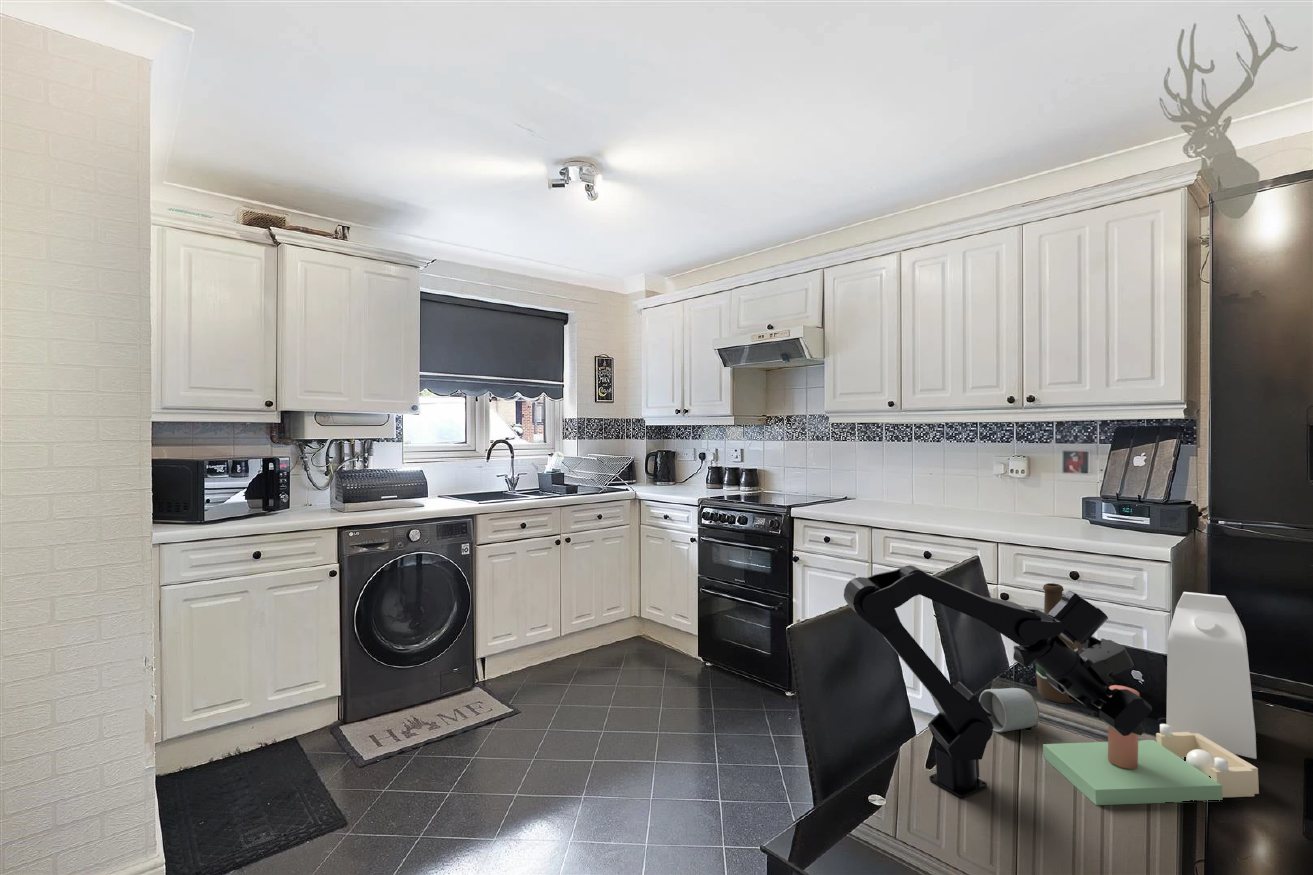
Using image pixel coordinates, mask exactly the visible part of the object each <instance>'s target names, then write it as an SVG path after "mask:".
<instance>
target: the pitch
mask: <svg viewBox="0 0 1313 875" xmlns="http://www.w3.org/2000/svg"><path fill="white" fill-rule="evenodd" d="M1042 747H1043V748H1042V750H1043V759H1044V760H1045V761H1047V762H1048V763H1049V764H1050V765H1051V766H1052V767H1054V768H1055V769H1056V770H1057V771H1058V772H1059V774H1061V775H1062V776H1064V778H1066V779H1067V780H1068V781H1069V782H1070V783H1071V784H1072V785H1073V786H1074V787H1075V788H1076V789H1078V790H1079V792H1081V793H1082V794H1083V795H1084V796H1085V797H1086V798H1087V799H1089V800H1090V801H1091V802H1092V803H1093V804H1094V805H1095V806H1109V805H1111V806H1112V805H1136V804H1137V805H1139V804H1142V805H1143V804H1144V805H1145V804H1166V803H1165V802H1174V803H1183V802H1182V801H1190V800H1193V801H1194V800H1219V801H1218V802H1221V801H1220V800H1223V798H1224V797H1222V785H1221V784H1219V783H1218V782H1216V781H1214V780H1213V779H1211V778H1210V777H1209V776H1207V775H1206V774H1204V773H1203V772H1201V771H1200V770H1198V769H1197V768H1195V767H1193V766H1192V765H1190V764H1189V763H1187V762H1186V761H1184V760H1183V759H1181V758H1180V757H1178V756H1177V755H1175V754H1174V753H1172V752H1171V751H1169V750H1168V749H1166V748H1165V747H1163V746H1162V745H1160V744H1159V743H1157V741H1156V740H1154V739H1145V740H1138V767H1137V768H1135V769H1127V768H1122V767H1119V766H1116V765H1114V764H1112V763H1111V762H1110V761H1109V760H1108V741H1094V742H1069V743H1068V742H1065V743H1044V744H1042Z"/></svg>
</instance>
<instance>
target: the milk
mask: <svg viewBox="0 0 1313 875" xmlns="http://www.w3.org/2000/svg"><path fill="white" fill-rule="evenodd" d="M1167 635H1168V636H1167V644H1166V645H1167V648H1166V649H1167V651H1166V652H1167V653H1166V657H1167V658H1166V662H1167V663H1166V664H1167V665H1166V720H1165V721H1166V723H1165V724H1167V725H1170V726H1171V727H1172V732H1190V733H1191V734H1192V733H1199V734H1201V735H1202V736H1204V737H1206V738H1207V739H1209V740H1211V741H1212V742H1214V743H1216V744H1218V745H1219V746H1221V747H1223V748H1224V749H1226V750H1228V751H1229V752H1231V753H1233V754H1234V755H1236V756H1241V757H1246V758H1249V759H1253V760H1254V759H1255V760H1257V758H1258V757H1257V743H1256V742H1257V737H1256V736H1257V735H1256V725H1255V723H1256V722H1255V716H1254V715H1255V714H1254V705H1253V704H1254V702H1253V696H1252V686H1251V675H1250V674H1251V673H1250V667H1249V654H1248V647H1247V646H1248V645H1247V636H1246V631H1245V629H1244V626H1243V624H1242V622H1241V620H1240V617H1239V616H1238V614H1237V612H1236V610H1235V608H1234V607H1233V605H1232V604H1231V602H1230V601H1229V599H1228V598H1227V596H1226V595H1220V594H1219V595H1218V594H1211V593H1210V594H1209V593H1199V592H1192V591H1191V592H1190V591H1189V592H1188V591H1183V592H1182V595H1181V596H1180V599H1179V600H1178V602H1177V604H1176V606H1175V609H1174V613H1173V617H1172V620H1171V624H1170V627H1169V632H1168V634H1167Z"/></svg>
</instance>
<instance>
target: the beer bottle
mask: <svg viewBox="0 0 1313 875" xmlns="http://www.w3.org/2000/svg"><path fill="white" fill-rule="evenodd" d="M1042 590H1044V598H1043V600H1044V601H1043V602H1044V604H1043V606H1044V607H1043V612H1044V613H1046V614H1048V613H1049V612H1050V611H1051V610H1052V609H1053V608H1054V607H1055V606H1056V605H1057V603H1058V602H1059V601H1060V600H1061V599H1062V597H1063V595H1064V594H1063V592H1064V591H1065V589H1064V587H1063V585H1061V584H1059V583H1054V582H1050V583H1045V584H1044V585H1043V586H1042ZM1058 637H1059V638H1060V639H1061V640H1063V641H1064V642H1065V643H1066V644H1067V645H1068V646H1069V647H1070V648H1072V649H1073V650H1074V651H1076V652H1077V653H1078V654H1079V646H1078V645H1079V644H1078V641H1076V642H1075V643H1074V644H1073V643H1071V642H1069V641H1068V640H1066V639H1065V638H1063V637H1062V636H1061V635H1058ZM1035 672H1036V686H1037V689H1036V690H1037V693H1038V694H1039V695H1040V696H1041V697H1042V698H1043V699H1044V700H1048V701H1051V702H1053V703H1054V702H1055V703H1058V704H1074V703H1075V702H1074V701H1073V700H1071V699H1070V698H1069V694H1068V693H1067V692H1065V693H1064V694H1062V693H1061V692H1060V691H1058V690H1057V689H1055V688H1054V687H1053V686H1052V685H1051V684H1050V683H1048V682H1047V675H1046V672H1045V671H1044V670H1043V669H1042V668H1041V667H1040V666H1038V665H1037V664H1036V663H1035ZM1061 687H1062V686H1061ZM1062 688H1063V687H1062ZM1064 690H1065V689H1064Z"/></svg>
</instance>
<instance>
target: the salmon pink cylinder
mask: <svg viewBox="0 0 1313 875" xmlns="http://www.w3.org/2000/svg"><path fill="white" fill-rule="evenodd" d="M1108 688H1109V689H1111V690H1113V689H1119V690H1121V689H1128V690H1129V691H1131V692H1133V693H1134V694H1136V695H1138V696H1139V697H1140V692H1139V691H1138V690H1136V689H1134V688H1131V687H1130V686H1129V687H1128V686H1124V685H1117V684H1114V685H1112V684H1111V685H1110V686H1108ZM1109 697H1110V696H1109ZM1111 697H1112V696H1111ZM1107 731H1108V732H1107V742H1108V760H1109V761H1110V762H1111V763H1112V764H1114V765H1116V766H1119V767H1122V768H1127V769H1135V768H1137V767H1138V741H1139V735H1137V734H1134V733H1130V734H1129V735H1127V736H1123V735H1121V734H1120V733H1118V732H1117V731H1116V730H1114V729H1113V728H1111V727H1110V726H1109V725H1107Z"/></svg>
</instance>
